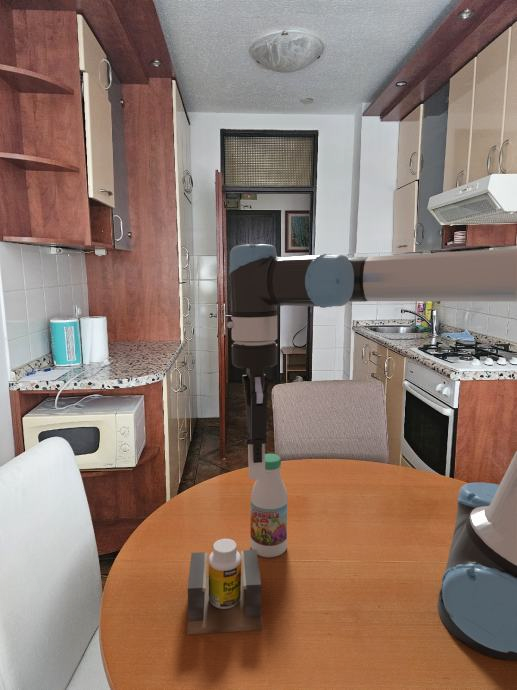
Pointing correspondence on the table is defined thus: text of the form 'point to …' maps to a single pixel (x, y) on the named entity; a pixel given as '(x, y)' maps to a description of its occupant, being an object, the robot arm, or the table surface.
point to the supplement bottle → (224, 574)
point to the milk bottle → (269, 511)
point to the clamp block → (231, 619)
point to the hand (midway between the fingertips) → (256, 477)
